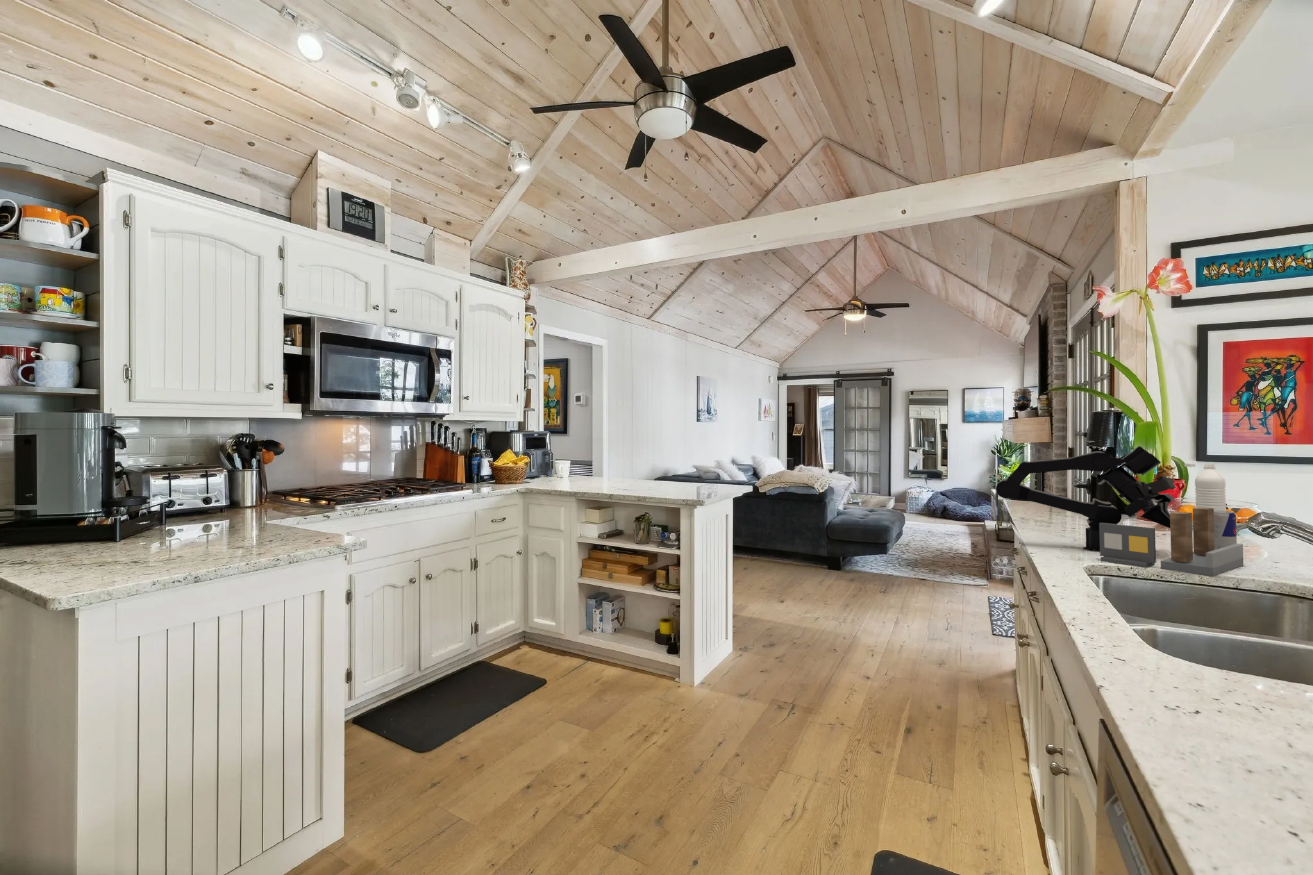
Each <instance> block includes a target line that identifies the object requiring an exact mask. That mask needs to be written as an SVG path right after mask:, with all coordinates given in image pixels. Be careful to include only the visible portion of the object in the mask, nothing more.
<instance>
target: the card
mask: <svg viewBox="0 0 1313 875" xmlns="http://www.w3.org/2000/svg"><path fill="white" fill-rule="evenodd" d="M1099 533H1100V551H1099V556H1100V562H1105V563H1106V562H1107V563H1113V564H1119V565H1124V566H1125V565H1126V566H1132V567H1140V568H1145V569H1146V568H1149V567H1153V566H1155V564H1157V560H1156V559H1157V554H1156V552H1157V551H1156V550H1157V549H1156V546H1157V545H1156V528H1155V527H1146V526H1138V525H1137V526H1134V525H1128V524H1127V525H1126V524H1119V523H1118V524H1108V523H1099Z"/></svg>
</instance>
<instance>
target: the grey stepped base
mask: <svg viewBox="0 0 1313 875" xmlns="http://www.w3.org/2000/svg"><path fill="white" fill-rule="evenodd" d="M1243 565H1244V544H1243V543H1236V544H1233V545H1230V546H1226V547H1223V548H1220V549H1217V550H1213V551H1210V552H1207V553H1206V555H1200V554H1194V551H1193V561H1190V562H1187V563H1186V562H1179V561H1172V560H1171V557H1169V558H1165V559H1162V560H1160V569H1161V570H1166V571H1167V570H1168V571H1175V572H1181V573H1187V574H1193V575H1202V576H1208V577H1215V576H1218V575H1221V574H1224V573H1227V572H1229V571H1228V570H1230V571H1232V570H1235V569H1238V568H1240V567H1243ZM1223 572H1224V573H1223Z"/></svg>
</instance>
